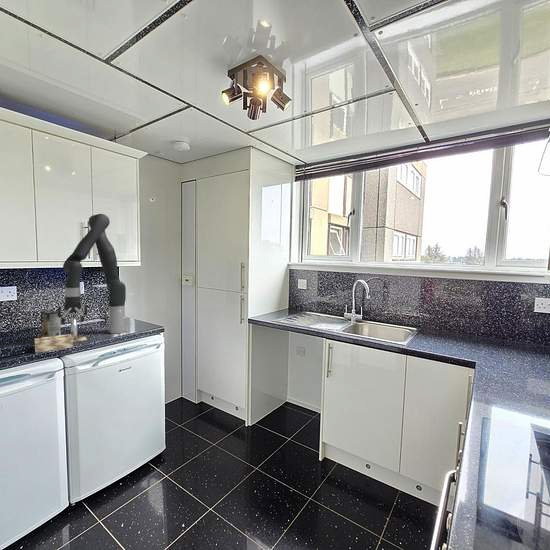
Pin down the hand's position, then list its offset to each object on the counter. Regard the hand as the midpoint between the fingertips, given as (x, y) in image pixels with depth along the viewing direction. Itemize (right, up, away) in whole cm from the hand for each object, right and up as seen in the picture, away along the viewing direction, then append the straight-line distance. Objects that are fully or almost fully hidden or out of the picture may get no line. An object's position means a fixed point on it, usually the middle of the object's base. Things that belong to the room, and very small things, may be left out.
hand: (72, 323), depth 174 cm
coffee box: (-15, -10, +3) cm, 18 cm away
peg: (0, -10, +1) cm, 10 cm away
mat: (+2, -10, +2) cm, 10 cm away
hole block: (-2, -11, -13) cm, 17 cm away
